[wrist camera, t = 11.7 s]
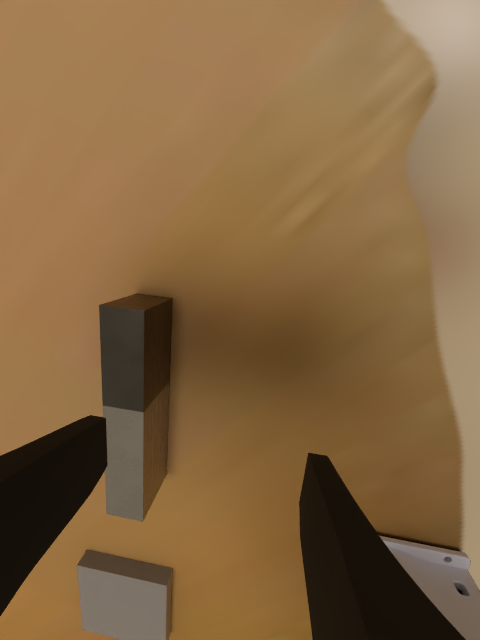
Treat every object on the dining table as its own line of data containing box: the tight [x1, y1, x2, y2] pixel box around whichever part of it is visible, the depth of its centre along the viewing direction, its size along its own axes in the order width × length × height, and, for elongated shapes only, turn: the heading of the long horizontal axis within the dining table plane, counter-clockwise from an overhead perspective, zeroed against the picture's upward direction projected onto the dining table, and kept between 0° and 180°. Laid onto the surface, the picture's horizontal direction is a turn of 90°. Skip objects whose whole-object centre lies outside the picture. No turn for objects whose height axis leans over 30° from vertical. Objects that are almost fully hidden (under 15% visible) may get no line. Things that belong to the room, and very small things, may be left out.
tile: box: [77, 550, 173, 640], centre depth 25 cm, size 8×2×8 cm
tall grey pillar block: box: [99, 294, 172, 522], centre depth 18 cm, size 14×2×4 cm, turn 175°
